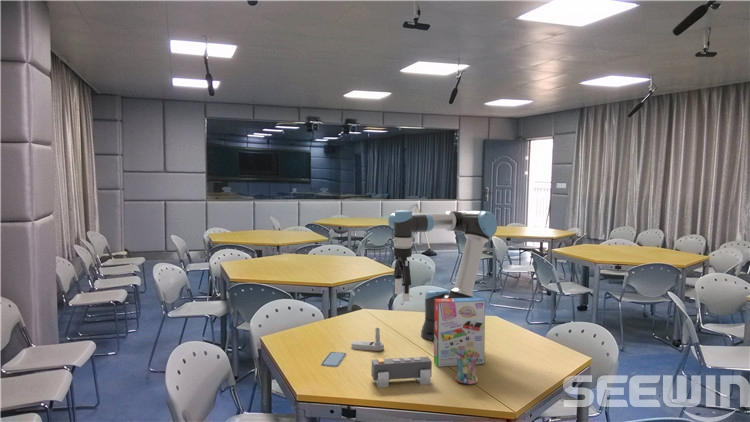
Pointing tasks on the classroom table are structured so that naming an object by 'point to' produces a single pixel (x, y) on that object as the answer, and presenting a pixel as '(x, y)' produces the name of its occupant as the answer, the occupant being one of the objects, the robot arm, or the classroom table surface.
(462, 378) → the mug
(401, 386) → the classroom table surface
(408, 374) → the power strip
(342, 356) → the smartphone
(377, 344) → the electronic device
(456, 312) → the game box
